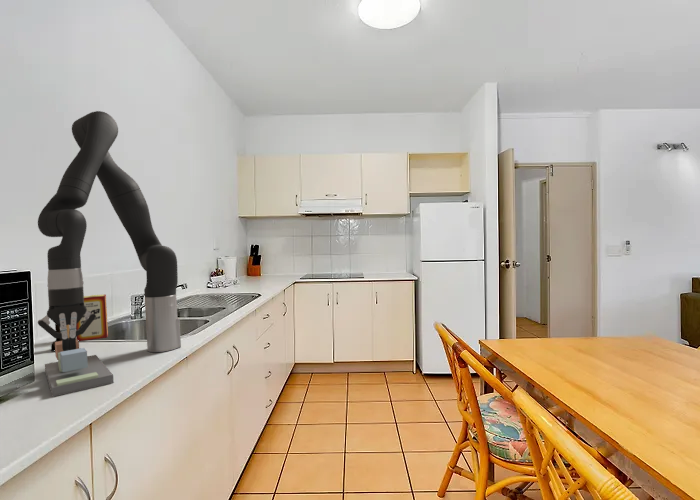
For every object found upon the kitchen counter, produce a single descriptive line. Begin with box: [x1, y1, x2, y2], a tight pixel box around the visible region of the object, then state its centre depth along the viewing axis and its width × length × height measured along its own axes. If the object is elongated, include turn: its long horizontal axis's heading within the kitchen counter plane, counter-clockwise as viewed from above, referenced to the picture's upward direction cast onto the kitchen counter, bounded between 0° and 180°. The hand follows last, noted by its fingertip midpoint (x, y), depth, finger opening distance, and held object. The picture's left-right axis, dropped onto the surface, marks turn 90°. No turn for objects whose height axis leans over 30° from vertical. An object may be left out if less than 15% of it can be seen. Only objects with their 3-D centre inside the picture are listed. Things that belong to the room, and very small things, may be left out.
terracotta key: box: [54, 338, 80, 360], centre depth 111 cm, size 5×5×4 cm
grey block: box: [60, 347, 88, 372], centre depth 99 cm, size 5×5×4 cm
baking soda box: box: [76, 294, 109, 342], centre depth 151 cm, size 10×6×16 cm
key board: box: [44, 354, 114, 398], centre depth 104 cm, size 12×26×3 cm, turn 40°
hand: (69, 352), depth 105 cm, fingers closed
